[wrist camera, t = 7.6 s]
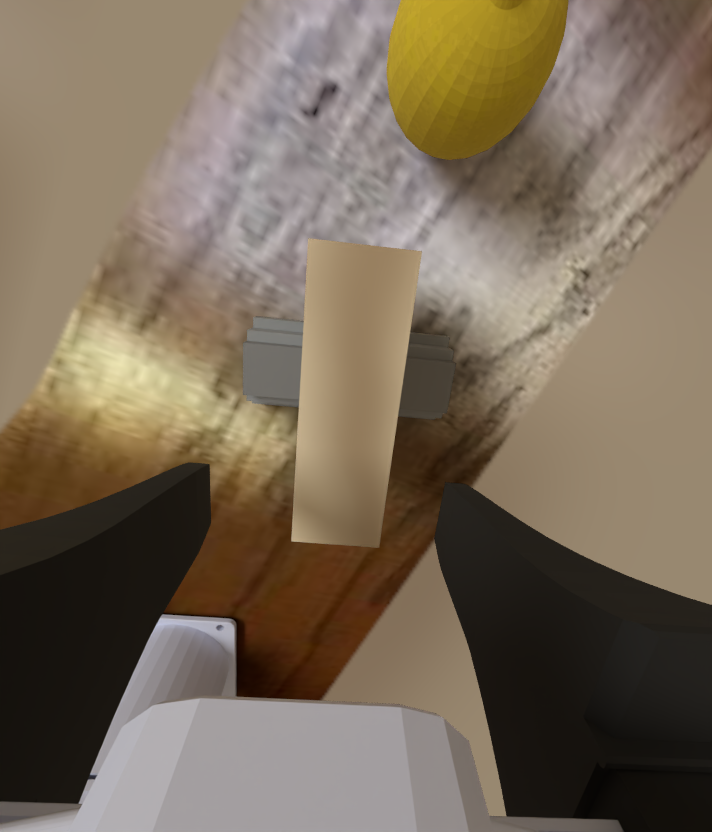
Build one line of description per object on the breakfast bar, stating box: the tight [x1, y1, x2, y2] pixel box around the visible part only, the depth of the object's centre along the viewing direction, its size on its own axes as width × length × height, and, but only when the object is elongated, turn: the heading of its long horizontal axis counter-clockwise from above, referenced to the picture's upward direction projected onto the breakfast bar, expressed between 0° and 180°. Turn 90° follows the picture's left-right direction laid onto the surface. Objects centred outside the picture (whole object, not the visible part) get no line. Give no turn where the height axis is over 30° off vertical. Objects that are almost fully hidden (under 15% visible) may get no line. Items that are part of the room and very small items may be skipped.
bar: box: [291, 238, 422, 548], centre depth 16 cm, size 4×11×5 cm, turn 174°
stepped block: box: [243, 316, 456, 420], centre depth 19 cm, size 10×4×3 cm, turn 84°
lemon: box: [387, 0, 568, 160], centre depth 13 cm, size 6×6×8 cm
